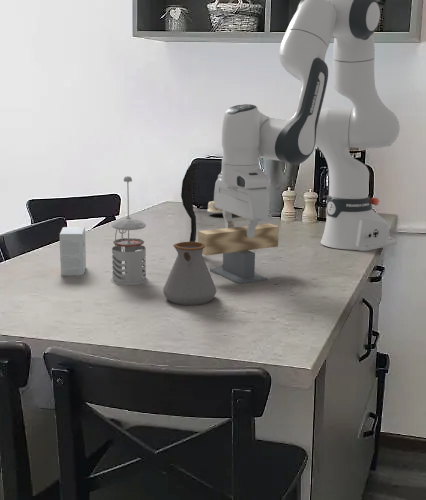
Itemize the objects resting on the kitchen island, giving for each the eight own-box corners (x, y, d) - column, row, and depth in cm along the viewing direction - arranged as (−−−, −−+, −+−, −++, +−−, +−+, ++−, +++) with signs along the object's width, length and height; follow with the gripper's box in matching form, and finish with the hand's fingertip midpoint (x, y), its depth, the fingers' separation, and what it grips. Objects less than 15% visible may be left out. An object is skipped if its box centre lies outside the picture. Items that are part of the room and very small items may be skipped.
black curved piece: (194, 258, 199) (194, 164, 193) (180, 257, 200) (180, 163, 194) (202, 251, 207) (203, 160, 201) (189, 250, 207) (189, 160, 201)
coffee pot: (165, 294, 168) (165, 228, 164) (217, 295, 167) (217, 229, 164) (155, 326, 147) (155, 252, 143) (214, 328, 147) (215, 253, 143)
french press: (116, 289, 171) (114, 180, 165) (100, 276, 181) (97, 173, 175) (156, 284, 175) (156, 177, 169) (138, 272, 185) (136, 171, 179)
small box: (63, 267, 188) (62, 226, 186) (86, 267, 189) (85, 226, 186) (60, 276, 181) (58, 233, 178) (83, 276, 181) (82, 233, 179)
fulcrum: (237, 268, 190) (238, 241, 188) (267, 282, 178) (268, 253, 176) (210, 272, 186) (210, 244, 184) (238, 286, 174) (239, 257, 172)
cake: (239, 210, 267) (240, 195, 265) (225, 215, 258) (225, 199, 257) (215, 207, 272) (216, 193, 270) (201, 212, 263) (201, 196, 262)
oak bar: (268, 243, 187) (269, 223, 185) (278, 246, 183) (278, 226, 182) (198, 251, 177) (198, 231, 176) (206, 255, 174) (206, 234, 172)
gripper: (207, 170, 183) (207, 225, 187) (250, 182, 166) (249, 243, 170) (230, 168, 186) (229, 223, 190) (274, 180, 169) (273, 240, 172)
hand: (239, 232), depth 180 cm, fingers open, 8 cm apart
